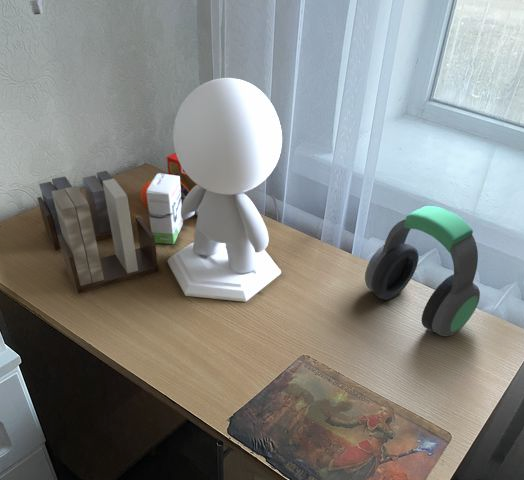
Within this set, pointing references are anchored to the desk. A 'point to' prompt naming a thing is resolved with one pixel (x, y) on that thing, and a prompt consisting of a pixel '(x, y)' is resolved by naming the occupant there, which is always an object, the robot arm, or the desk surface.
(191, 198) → the big headed doll
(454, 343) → the desk surface
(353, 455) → the desk surface
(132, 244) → the white book
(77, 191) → the brown book rack
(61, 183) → the grey book rack
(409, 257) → the headphones
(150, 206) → the ink box
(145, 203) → the clementine
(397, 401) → the desk surface
